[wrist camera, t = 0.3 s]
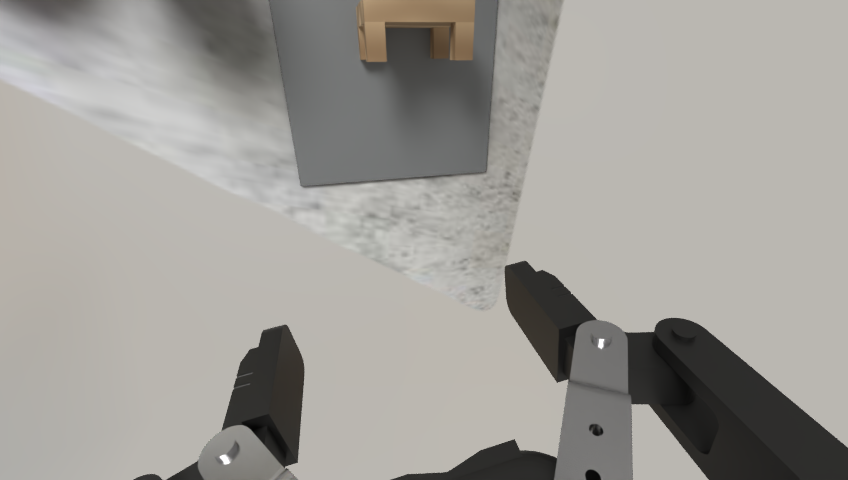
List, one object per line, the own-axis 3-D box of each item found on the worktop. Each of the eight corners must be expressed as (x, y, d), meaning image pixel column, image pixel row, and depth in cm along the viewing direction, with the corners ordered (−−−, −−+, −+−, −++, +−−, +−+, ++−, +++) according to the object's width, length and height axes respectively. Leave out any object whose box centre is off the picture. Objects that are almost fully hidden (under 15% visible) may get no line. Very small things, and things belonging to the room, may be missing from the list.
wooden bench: (355, 8, 32) (362, -5, 25) (445, 8, 33) (475, -2, 26) (360, 59, 34) (367, 61, 27) (444, 58, 35) (472, 60, 28)
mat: (247, -130, 27) (246, -132, 27) (503, -110, 31) (505, -112, 30) (301, 184, 38) (300, 186, 38) (484, 170, 42) (485, 171, 41)
